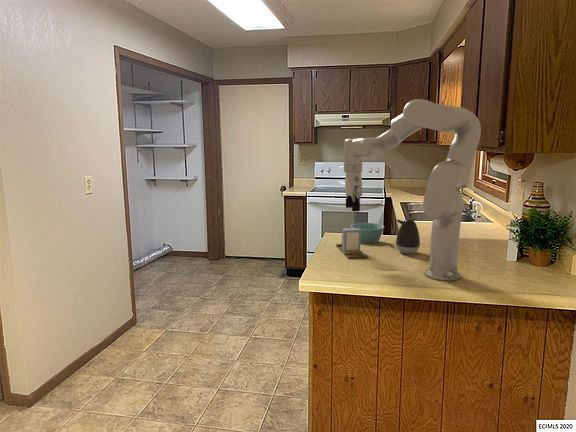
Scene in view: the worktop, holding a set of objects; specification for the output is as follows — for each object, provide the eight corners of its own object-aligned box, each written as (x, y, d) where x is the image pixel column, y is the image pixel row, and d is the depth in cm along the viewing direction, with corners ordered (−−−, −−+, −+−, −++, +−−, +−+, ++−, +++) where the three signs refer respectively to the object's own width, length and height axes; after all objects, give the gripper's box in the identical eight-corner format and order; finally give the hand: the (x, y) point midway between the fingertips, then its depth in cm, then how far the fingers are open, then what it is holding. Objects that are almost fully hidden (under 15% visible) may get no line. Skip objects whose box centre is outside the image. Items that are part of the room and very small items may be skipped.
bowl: (369, 248, 192) (369, 230, 190) (343, 242, 204) (344, 225, 202) (390, 243, 202) (390, 226, 200) (365, 237, 213) (365, 221, 212)
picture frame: (360, 252, 178) (360, 230, 177) (344, 253, 178) (344, 230, 176) (357, 250, 182) (358, 228, 181) (341, 250, 182) (342, 228, 180)
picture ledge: (367, 261, 171) (367, 255, 170) (348, 262, 170) (348, 256, 169) (353, 248, 191) (353, 243, 190) (336, 249, 190) (336, 244, 189)
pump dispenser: (398, 248, 191) (400, 215, 189) (422, 251, 186) (423, 217, 183) (392, 253, 183) (393, 219, 180) (416, 256, 178) (418, 221, 175)
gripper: (368, 169, 166) (367, 212, 168) (355, 167, 182) (355, 206, 185) (349, 170, 165) (349, 212, 168) (339, 167, 182) (338, 206, 184)
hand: (352, 209), depth 176 cm, fingers open, 9 cm apart
